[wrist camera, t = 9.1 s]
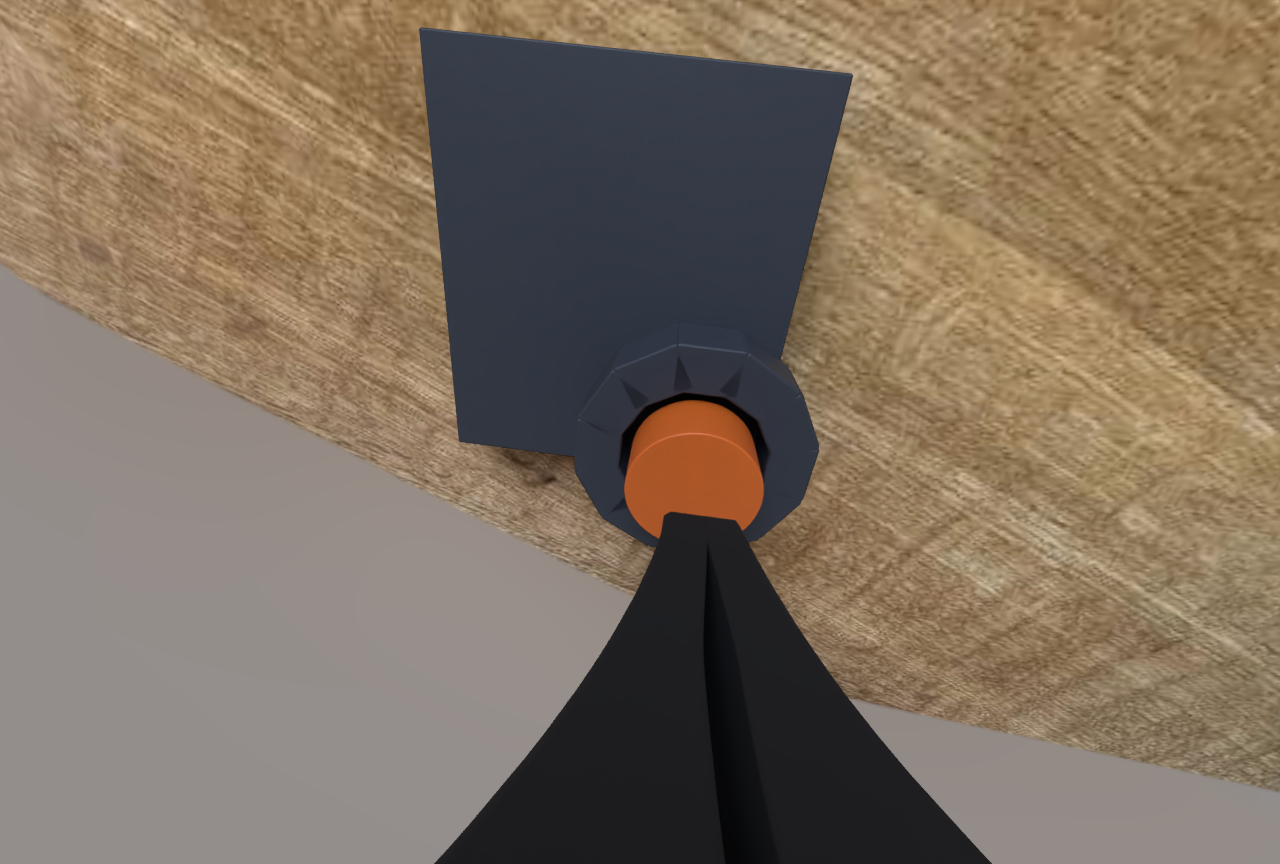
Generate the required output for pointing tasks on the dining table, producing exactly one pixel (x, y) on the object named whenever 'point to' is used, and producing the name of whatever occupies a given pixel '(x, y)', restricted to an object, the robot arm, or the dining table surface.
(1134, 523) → the dining table surface
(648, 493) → the button
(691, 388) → the button block
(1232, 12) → the dining table surface
